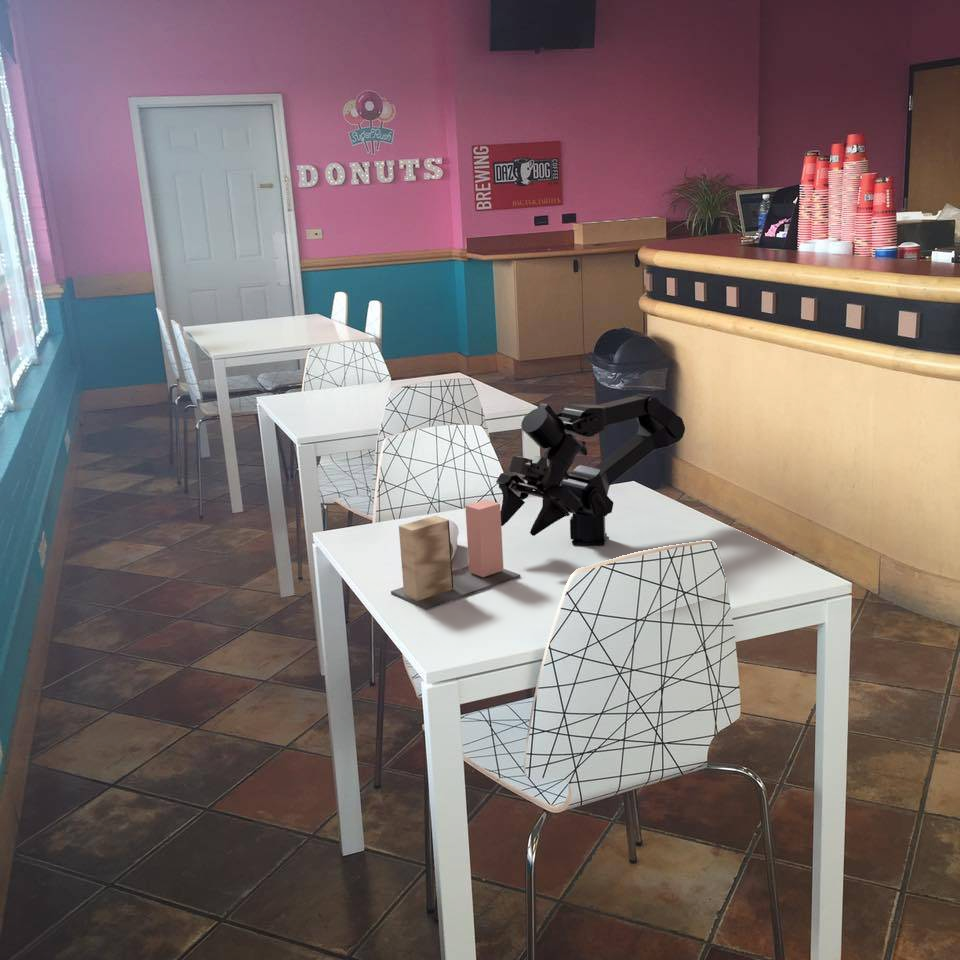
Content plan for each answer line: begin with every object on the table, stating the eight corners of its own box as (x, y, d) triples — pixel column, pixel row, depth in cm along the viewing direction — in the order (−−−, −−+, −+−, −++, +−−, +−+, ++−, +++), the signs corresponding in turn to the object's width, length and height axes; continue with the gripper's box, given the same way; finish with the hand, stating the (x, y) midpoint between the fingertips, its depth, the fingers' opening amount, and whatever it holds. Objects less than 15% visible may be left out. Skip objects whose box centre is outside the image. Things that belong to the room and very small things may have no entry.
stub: (489, 565, 196) (486, 499, 192) (503, 570, 193) (500, 503, 189) (469, 572, 193) (465, 505, 189) (482, 577, 190) (478, 509, 186)
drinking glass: (459, 513, 210) (452, 531, 196) (464, 545, 212) (457, 565, 197) (427, 517, 211) (417, 535, 196) (432, 548, 212) (422, 569, 198)
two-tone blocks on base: (483, 563, 199) (479, 496, 196) (520, 577, 191) (517, 507, 187) (390, 593, 186) (385, 522, 183) (426, 609, 178) (421, 535, 174)
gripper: (500, 432, 201) (459, 498, 198) (566, 445, 187) (523, 517, 183) (532, 462, 208) (494, 528, 204) (598, 477, 194) (558, 548, 190)
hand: (515, 529), depth 195 cm, fingers open, 9 cm apart
